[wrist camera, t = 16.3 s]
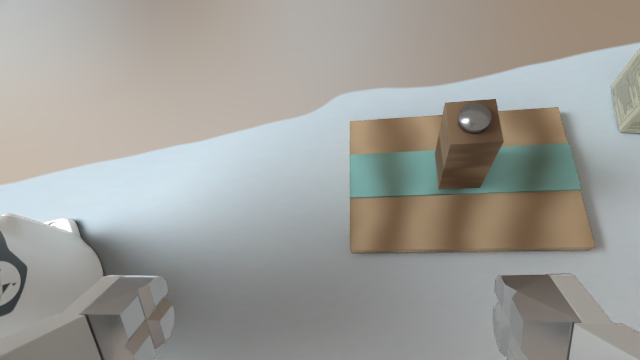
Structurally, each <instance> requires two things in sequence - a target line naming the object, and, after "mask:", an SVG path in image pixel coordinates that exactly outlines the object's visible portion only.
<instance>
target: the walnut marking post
mask: <svg viewBox="0 0 640 360" xmlns="http://www.w3.org/2000/svg"><path fill="white" fill-rule="evenodd" d="M503 142H504V140H503V135H502V129H501V124H500V119H499V114H498V109H497V103H496V99H491V100H477V101H464V102H450V103H445V106H444V111H443V116H442V121H441V126H440V131H439V136H438V141H437V146H436V150H435V162H436V172H437V181H438V189H464V188H480V187H481V185H482V183H483V181H484V179H485V177H486V175H487V173H488V172H489V170H490V168H491V166H492V164H493V162H494V160H495V158H496V156H497V154H498V152H499V150H500V148H501V146H502V144H503Z"/></svg>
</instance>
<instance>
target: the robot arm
mask: <svg viewBox="0 0 640 360" xmlns="http://www.w3.org/2000/svg"><path fill="white" fill-rule="evenodd" d="M494 291H495V294H496V296H497V298H498V301H499V302H498V303H497V304H496V305H495V306H494V308H493V326H494V334H495V338H496V342H497V345H498V348H499V351H500V352H501V353H503V354H504V355H505V356H506V357H507V360H640V333H639V332H637V331H635V330H633V329H631V328H630V327H628V326H626V325H624V324H617V323H613V322H612V321H611V320H610V318H609V317H608V316H607V315H606V314H605V312H604V311H603V310H602V309H601V307H600V306H599V305H598V304H597V303H596V301H595V300H594V299H593V298H592V296H591V295H590V294H589V293H588V292H587V290H586V289H585V288H584V287H583V285H582V284H581V283H580V282H579V281H578V279H577V278H576V277H575V276H574V275H572V274H570V273H568V274H545V275H503V276H497V277H496V280H495V290H494ZM167 292H168V287H167V284H166V281H165V279H164V278H162V277H161V276H141V275H126V276H125V275H109V276H104V277H103V271H102V267H101V263H100V261H99V259H98V257H97V255H96V253H95V252H94V251H93V249H92V248H91V247H90V246H88V245H87V244H86V243H85V242H84V241H83V240H82V238H81V237H80V233H79V230H78V227H77V224H76V223H75V221H73V220H71V219H67V218H60V219H56V220H51V221H47V222H43V223H41V222H37V221H34V220H31V219H28V218H25V217H21V216H18V215H15V214H10V213H5V214H4V215H2V216H0V360H154V358H155V357H156V348H157V347H159V346H160V345H162V344H163V343H165V342H166V341H167V339H168V338H169V336H170V335H171V333H172V330H173V326H174V323H175V312H174V308H173V304H172V303H171V302H170V301H169V300H168V299H167V298H166V297H165V296H166V294H167Z"/></svg>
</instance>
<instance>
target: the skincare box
mask: <svg viewBox="0 0 640 360" xmlns="http://www.w3.org/2000/svg"><path fill="white" fill-rule="evenodd" d="M611 91H612V98H613V104H614V109H615V114H616V119H617V123H618V128H619V131H620V132H626V133H640V49H639V50H638V51H637V53H636V54H635V55H634V57H633V58H632V59H631V61H630V62H629V63H628V65H627V66H626V67H625V69H624V70H623V71H622V72H621V74H620V75H619V76H618V78H617V79H616V80H615V82H614V83H613V84H612V86H611Z"/></svg>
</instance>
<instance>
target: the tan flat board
mask: <svg viewBox="0 0 640 360" xmlns="http://www.w3.org/2000/svg"><path fill="white" fill-rule="evenodd" d="M498 114H499V119H500V124H501V129H502V135H503V140H504V142H503V144H502V146H501V148H500V150H499V152H498V154H497V156H496V158H495V160H494V162H493V164H492V166H491V168H490V170H489V172H488V173H487V175H486V177H485V179H484V181H483V183H482V185H481V187H480V188H464V189H438V181H437V172H436V162H435V150H436V146H437V141H438V136H439V131H440V126H441V121H442V116H443V115H437V116H423V117H408V118H393V119H379V120H364V121H350V251H351V253H394V252H476V251H559V250H590V249H592V248H594V247H595V243H594V240H593V236H592V232H591V228H590V225H589V221H588V217H587V214H586V210H585V206H584V202H583V199H582V195H581V191H580V190H581V185H580V181H579V177H578V174H577V170H576V166H575V163H574V159H573V155H572V151H571V148H570V144H569V143H568V142H567V139H566V135H565V131H564V128H563V124H562V120H561V116H560V113H559V109H558V107H555V108H540V109H525V110H511V111H498Z"/></svg>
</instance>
